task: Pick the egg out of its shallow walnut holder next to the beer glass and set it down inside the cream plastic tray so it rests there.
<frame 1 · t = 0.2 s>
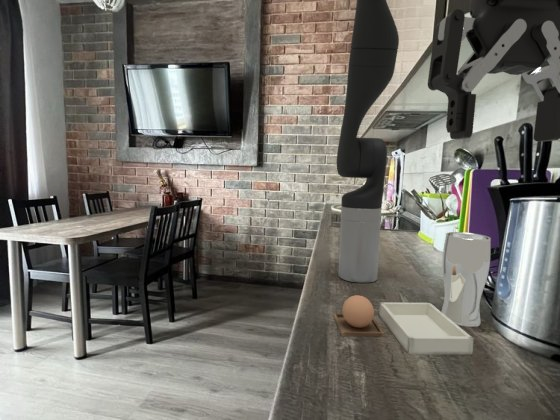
hand: (503, 139, 29), 28 cm above the kitchen counter, tool pointing down, fingers open, 8 cm apart
egg: (357, 325, 51), resting on holder
tray: (420, 334, 50), on the kitchen counter
beer glass: (459, 320, 55), on the kitchen counter
holder: (357, 327, 51), on the kitchen counter
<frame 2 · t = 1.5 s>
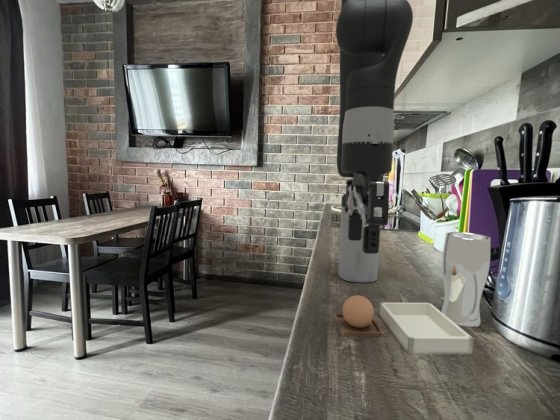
hand: (361, 246, 50), 14 cm above the kitchen counter, tool pointing down, fingers open, 8 cm apart
nothing on the kitchen counter moved.
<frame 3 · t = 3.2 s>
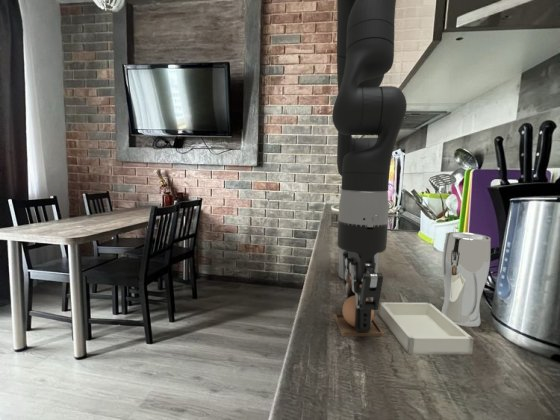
hand: (357, 321, 51), 1 cm above the kitchen counter, tool pointing down, fingers closed on egg, 5 cm apart
egg: (357, 325, 51), resting on holder, touching gripper
everything else where it was.
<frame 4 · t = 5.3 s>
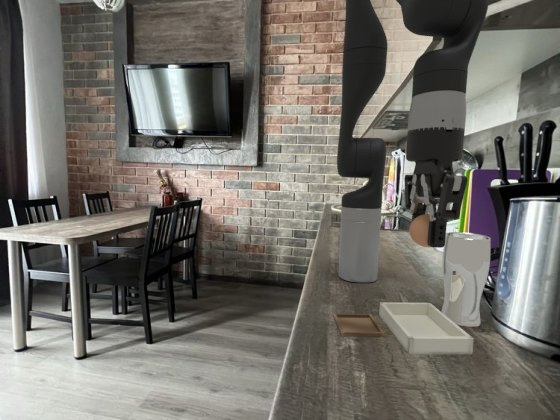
hand: (426, 242, 48), 15 cm above the kitchen counter, tool pointing down, fingers closed on egg, 5 cm apart
egg: (425, 246, 48), point 14 cm above the kitchen counter, touching gripper
everything else where it was.
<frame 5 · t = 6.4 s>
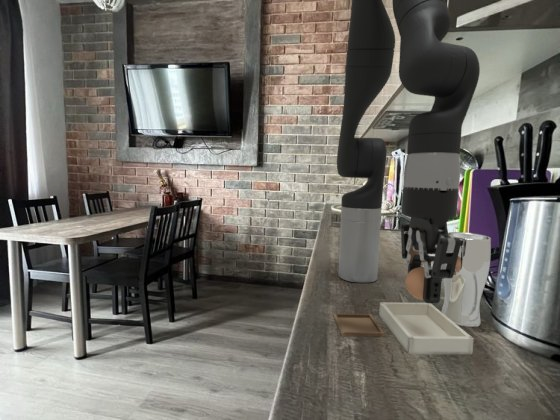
hand: (422, 294, 48), 7 cm above the kitchen counter, tool pointing down, fingers closed on egg, 5 cm apart
egg: (421, 299, 49), point 6 cm above the kitchen counter, touching gripper
everything else where it was.
when the fingers open (3 cm above the kitchen counter, at t = 7.4 s): egg drops 2 cm, resting on tray.
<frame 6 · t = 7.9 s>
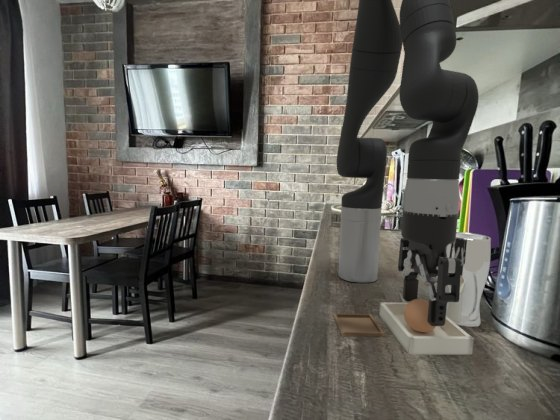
hand: (421, 311, 49), 4 cm above the kitchen counter, tool pointing down, fingers open, 8 cm apart
egg: (419, 330, 50), point 1 cm above the kitchen counter, touching tray
everything else where it was.
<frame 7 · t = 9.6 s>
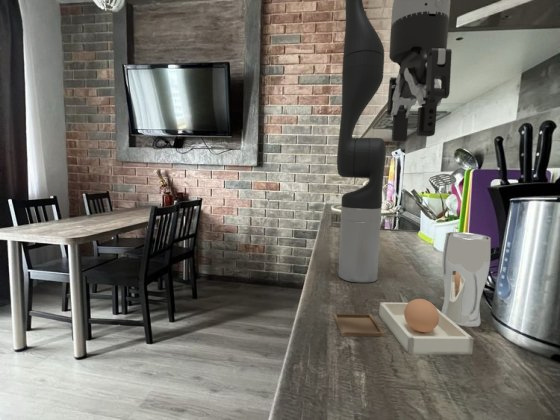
hand: (411, 139, 46), 30 cm above the kitchen counter, tool pointing down, fingers open, 8 cm apart
nothing on the kitchen counter moved.
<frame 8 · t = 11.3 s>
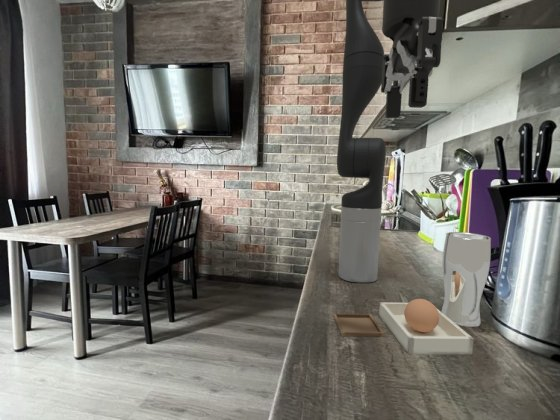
hand: (403, 112, 46), 34 cm above the kitchen counter, tool pointing down, fingers open, 8 cm apart
nothing on the kitchen counter moved.
at the end: egg inside the target area on the tray (0.0 cm from its centre), point 0.6 cm above the tray's base; the gripper is holding nothing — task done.
